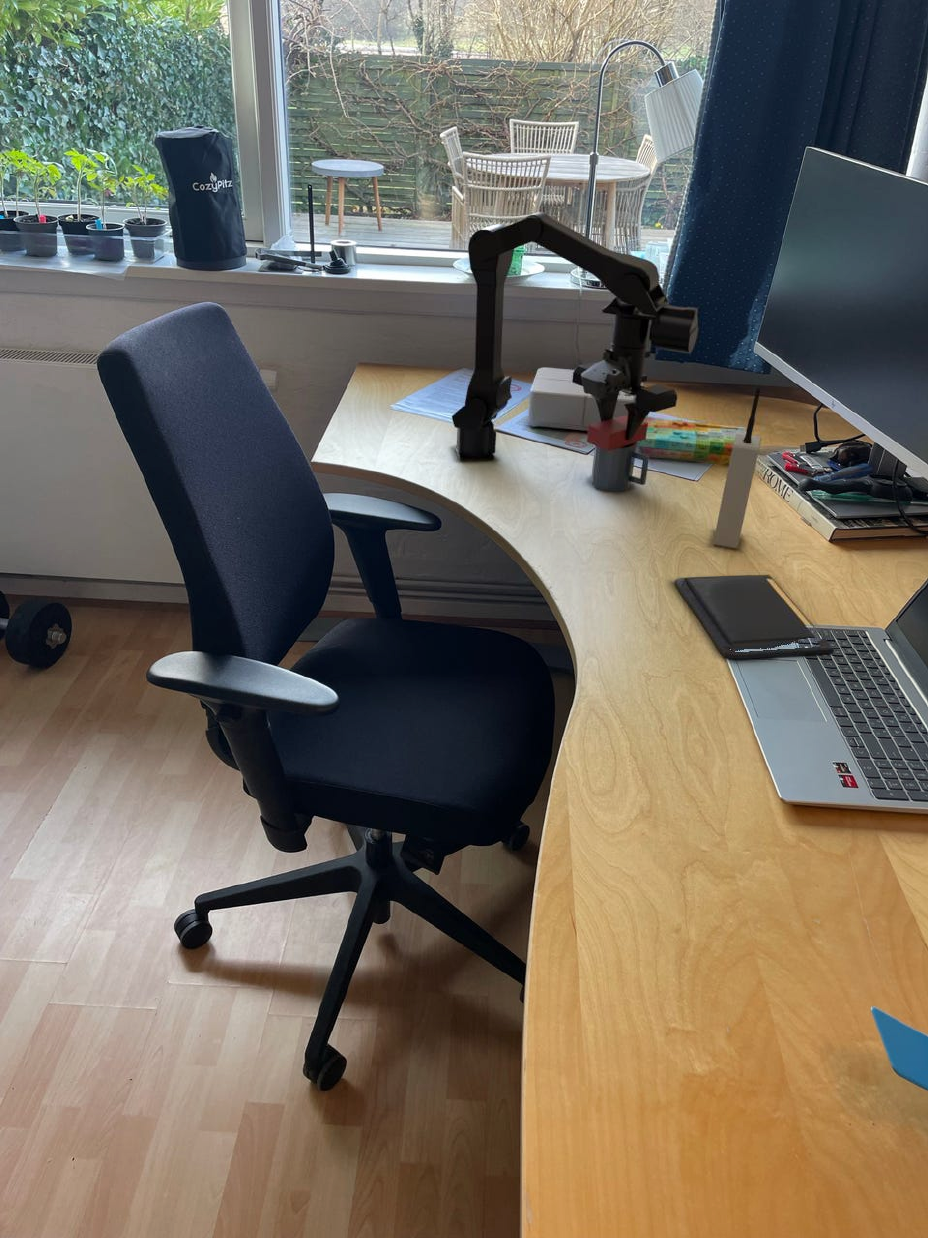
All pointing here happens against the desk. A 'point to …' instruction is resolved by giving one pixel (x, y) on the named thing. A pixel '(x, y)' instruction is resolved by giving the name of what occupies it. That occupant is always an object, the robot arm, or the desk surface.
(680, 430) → the puzzle game
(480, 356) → the robot arm
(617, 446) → the red rectangular block
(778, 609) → the wallet
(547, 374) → the projector
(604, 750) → the desk surface
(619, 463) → the mug
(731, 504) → the vintage mobile phone
